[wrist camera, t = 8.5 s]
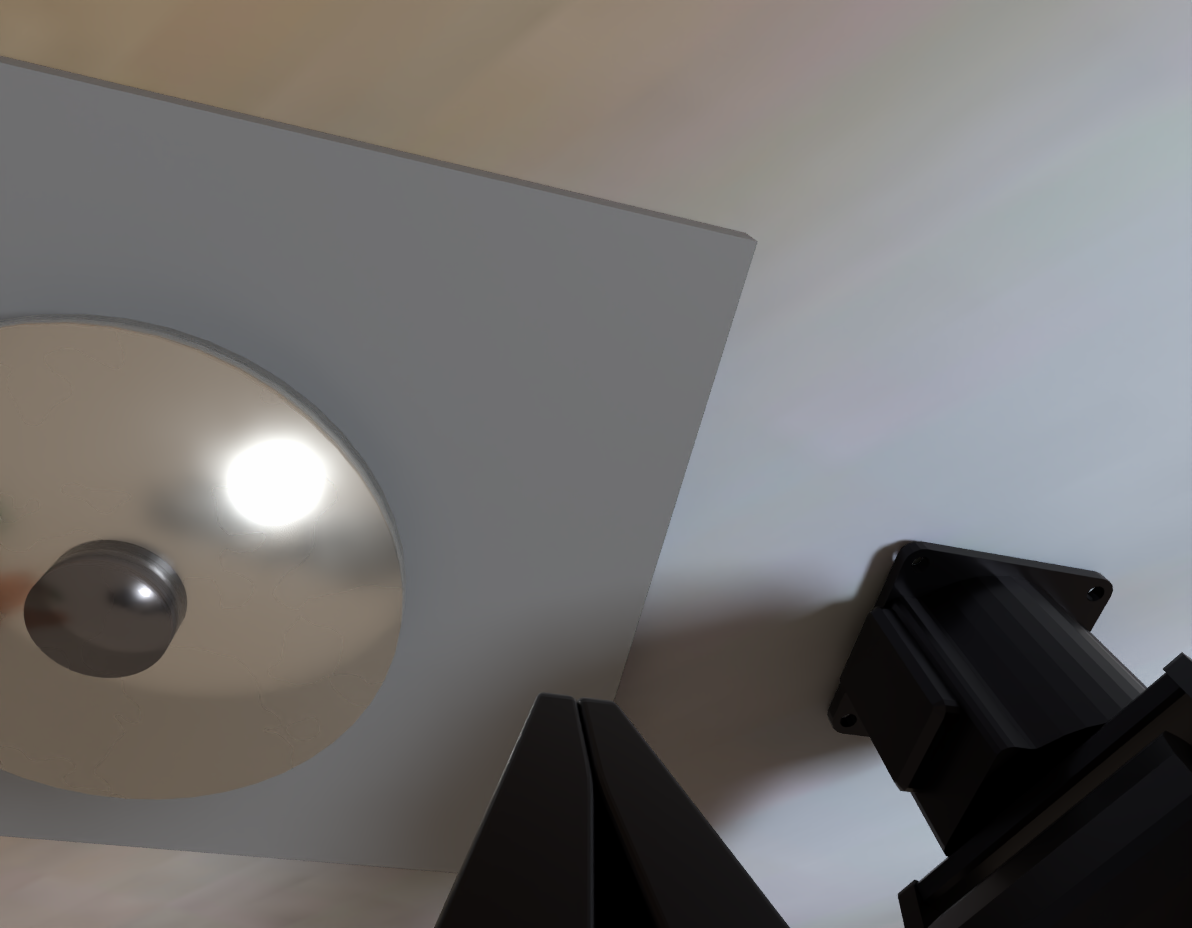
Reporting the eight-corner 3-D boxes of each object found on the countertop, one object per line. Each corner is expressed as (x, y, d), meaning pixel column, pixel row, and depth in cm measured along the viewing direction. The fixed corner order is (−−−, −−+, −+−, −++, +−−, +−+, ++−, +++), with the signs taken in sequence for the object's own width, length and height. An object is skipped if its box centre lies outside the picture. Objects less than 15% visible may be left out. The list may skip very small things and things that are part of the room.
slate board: (745, 232, 19) (819, 285, 14) (555, 853, 27) (565, 1012, 22) (-555, -77, 14) (-1035, -140, 10) (-319, 777, 22) (-525, 955, 18)
